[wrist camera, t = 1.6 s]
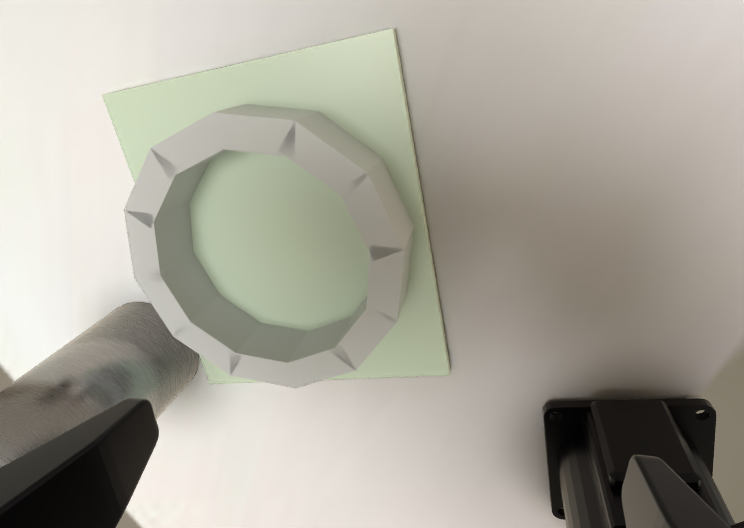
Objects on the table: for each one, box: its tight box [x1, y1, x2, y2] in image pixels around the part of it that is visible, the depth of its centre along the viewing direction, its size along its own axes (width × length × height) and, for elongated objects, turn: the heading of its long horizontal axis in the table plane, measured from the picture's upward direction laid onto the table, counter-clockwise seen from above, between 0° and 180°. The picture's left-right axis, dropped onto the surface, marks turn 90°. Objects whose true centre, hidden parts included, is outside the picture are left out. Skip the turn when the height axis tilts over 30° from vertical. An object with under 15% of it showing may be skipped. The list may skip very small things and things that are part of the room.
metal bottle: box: [0, 302, 199, 467], centre depth 20 cm, size 5×5×12 cm
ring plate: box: [102, 28, 450, 388], centre depth 20 cm, size 14×12×3 cm
